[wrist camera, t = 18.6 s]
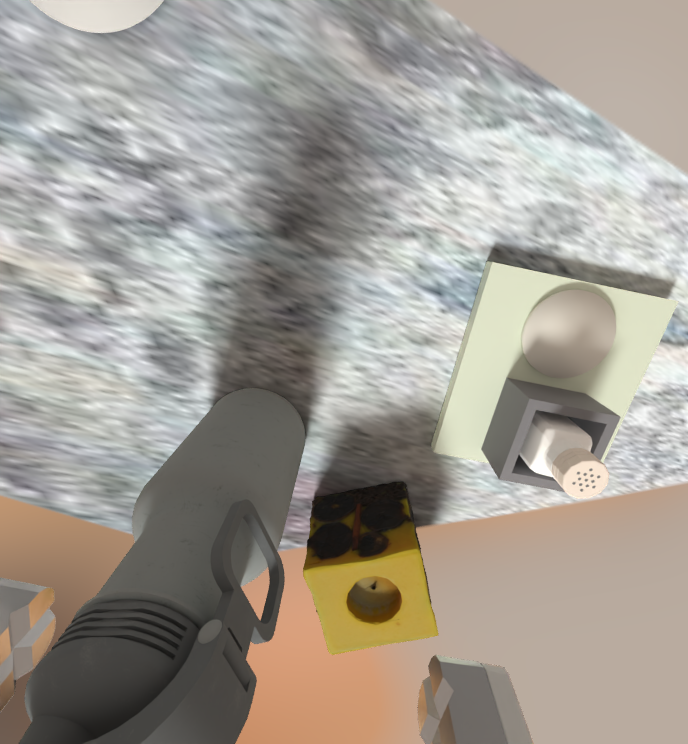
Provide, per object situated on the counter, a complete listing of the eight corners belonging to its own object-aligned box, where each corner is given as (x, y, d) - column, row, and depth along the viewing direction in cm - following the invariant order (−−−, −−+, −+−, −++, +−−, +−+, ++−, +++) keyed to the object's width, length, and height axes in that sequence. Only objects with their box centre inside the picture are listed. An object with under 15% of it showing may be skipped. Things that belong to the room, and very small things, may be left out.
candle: (333, 570, 45) (327, 658, 35) (310, 496, 42) (296, 570, 32) (422, 554, 44) (441, 641, 34) (405, 477, 41) (420, 549, 31)
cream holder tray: (486, 261, 34) (516, 265, 27) (665, 298, 34) (733, 311, 28) (430, 444, 39) (444, 482, 33) (584, 474, 40) (626, 517, 34)
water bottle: (288, 370, 37) (120, 691, 11) (324, 456, 40) (263, 880, 14) (192, 402, 39) (-168, 760, 12) (233, 484, 41) (16, 919, 15)
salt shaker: (542, 443, 37) (602, 508, 28) (501, 436, 37) (548, 499, 28) (557, 405, 36) (625, 460, 27) (515, 397, 36) (569, 450, 27)
